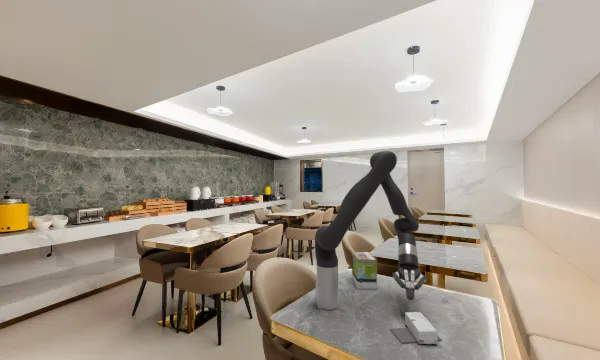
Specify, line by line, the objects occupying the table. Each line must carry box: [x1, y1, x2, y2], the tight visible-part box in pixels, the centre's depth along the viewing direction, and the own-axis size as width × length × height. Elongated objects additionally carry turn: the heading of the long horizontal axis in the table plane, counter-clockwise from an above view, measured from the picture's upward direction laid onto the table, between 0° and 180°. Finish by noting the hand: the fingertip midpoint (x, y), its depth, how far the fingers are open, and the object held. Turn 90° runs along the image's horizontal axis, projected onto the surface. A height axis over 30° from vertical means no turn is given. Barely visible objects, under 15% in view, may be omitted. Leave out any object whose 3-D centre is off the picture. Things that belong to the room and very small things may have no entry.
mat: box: [390, 327, 443, 345], centre depth 88 cm, size 14×8×1 cm, turn 96°
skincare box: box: [404, 311, 438, 345], centre depth 88 cm, size 6×4×12 cm
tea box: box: [351, 251, 378, 290], centre depth 133 cm, size 15×10×15 cm
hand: (410, 299), depth 95 cm, fingers closed
